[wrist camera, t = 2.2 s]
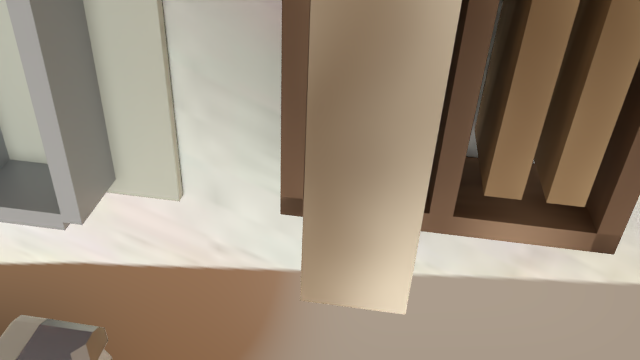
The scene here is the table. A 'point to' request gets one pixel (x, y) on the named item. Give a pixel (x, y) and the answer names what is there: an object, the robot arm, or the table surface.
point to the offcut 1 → (520, 90)
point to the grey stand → (83, 108)
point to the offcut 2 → (587, 98)
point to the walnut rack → (464, 172)
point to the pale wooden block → (371, 144)
